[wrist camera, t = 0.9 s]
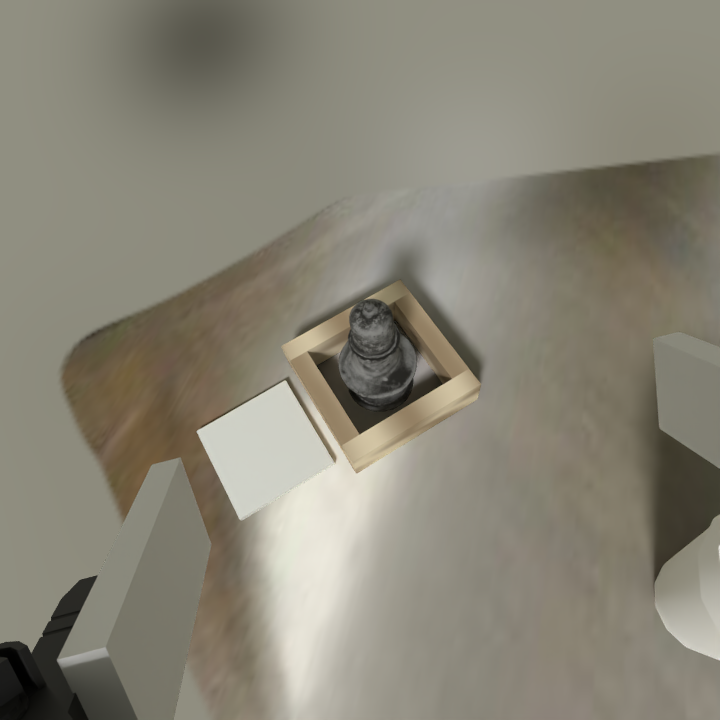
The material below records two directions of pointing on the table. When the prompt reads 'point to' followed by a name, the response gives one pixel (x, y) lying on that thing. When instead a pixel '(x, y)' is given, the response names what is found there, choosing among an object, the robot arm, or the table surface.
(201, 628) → the table surface
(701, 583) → the foam cup
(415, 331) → the wooden square frame
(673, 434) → the robot arm
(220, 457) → the white mat
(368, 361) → the dark chess piece
